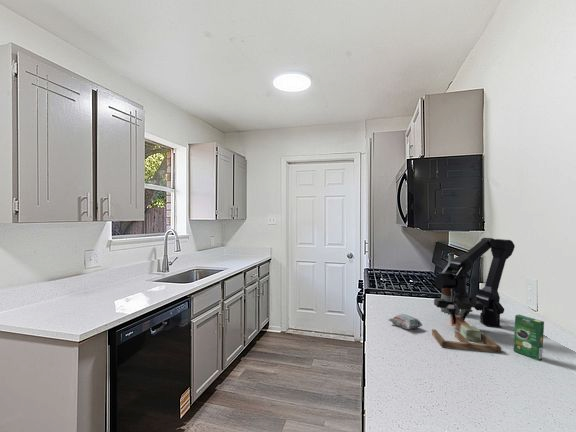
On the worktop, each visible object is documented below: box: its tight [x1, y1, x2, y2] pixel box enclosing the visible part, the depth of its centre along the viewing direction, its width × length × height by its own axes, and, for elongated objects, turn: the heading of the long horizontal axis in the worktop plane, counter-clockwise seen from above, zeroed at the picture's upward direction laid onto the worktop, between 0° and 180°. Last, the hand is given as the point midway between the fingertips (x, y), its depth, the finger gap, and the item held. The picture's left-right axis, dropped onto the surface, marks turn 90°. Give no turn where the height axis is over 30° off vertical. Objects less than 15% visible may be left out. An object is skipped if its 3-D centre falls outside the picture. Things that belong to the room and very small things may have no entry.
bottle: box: [440, 252, 461, 315], centre depth 158 cm, size 9×9×30 cm
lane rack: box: [431, 329, 502, 354], centre depth 118 cm, size 20×13×2 cm, turn 80°
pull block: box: [449, 314, 482, 342], centre depth 130 cm, size 5×20×4 cm, turn 170°
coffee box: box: [513, 314, 545, 361], centre depth 108 cm, size 8×3×13 cm, turn 25°
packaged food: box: [387, 313, 423, 330], centre depth 134 cm, size 9×12×5 cm
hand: (457, 324), depth 136 cm, fingers closed on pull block, 2 cm apart
